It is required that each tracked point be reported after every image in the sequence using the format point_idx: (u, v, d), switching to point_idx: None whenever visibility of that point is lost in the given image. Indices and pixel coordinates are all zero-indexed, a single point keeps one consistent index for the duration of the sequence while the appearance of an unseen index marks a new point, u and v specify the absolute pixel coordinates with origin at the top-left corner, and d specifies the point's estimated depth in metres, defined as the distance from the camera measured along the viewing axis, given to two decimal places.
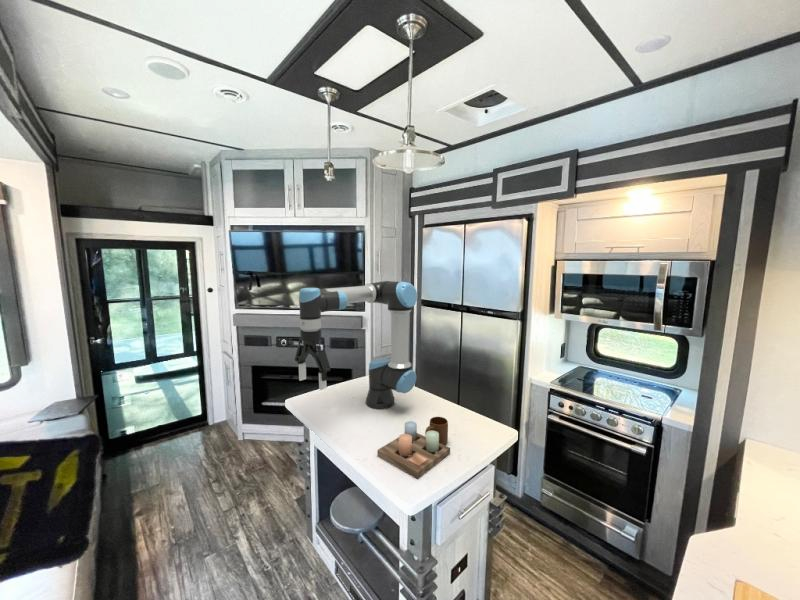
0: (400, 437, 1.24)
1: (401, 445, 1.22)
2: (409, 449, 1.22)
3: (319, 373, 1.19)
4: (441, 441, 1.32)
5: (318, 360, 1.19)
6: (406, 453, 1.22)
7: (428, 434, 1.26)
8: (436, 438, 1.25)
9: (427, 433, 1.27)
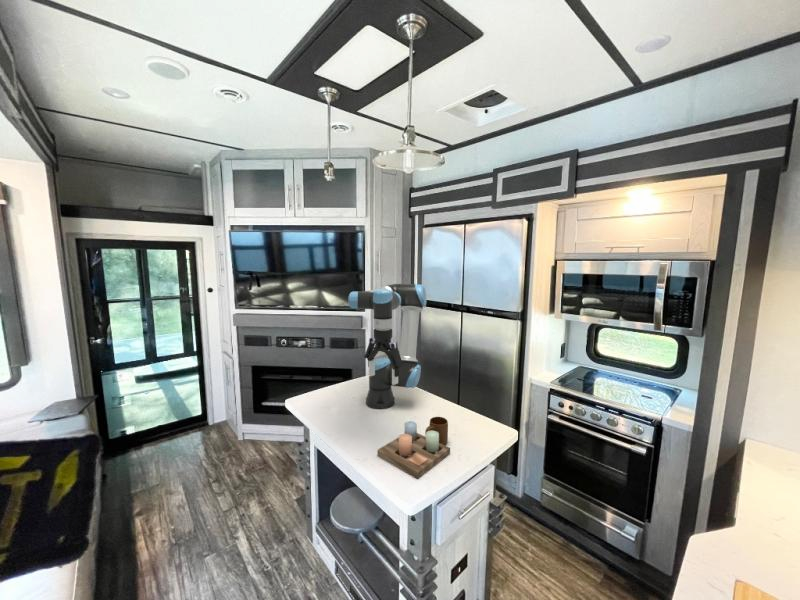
0: (400, 437, 1.24)
1: (401, 445, 1.22)
2: (409, 449, 1.22)
3: (392, 369, 1.27)
4: (441, 442, 1.32)
5: (391, 357, 1.28)
6: (406, 453, 1.22)
7: (428, 434, 1.26)
8: (436, 438, 1.25)
9: (427, 433, 1.27)
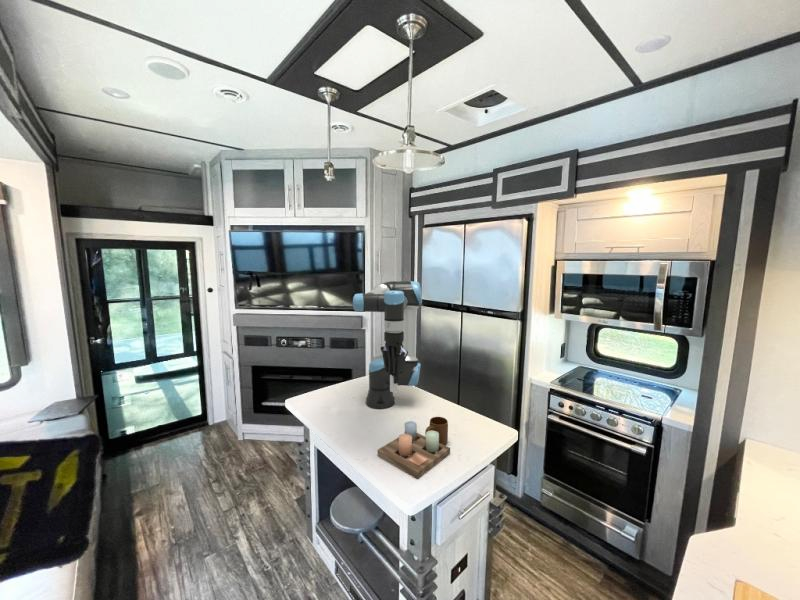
0: (400, 437, 1.24)
1: (401, 445, 1.22)
2: (409, 449, 1.22)
3: (392, 376, 1.26)
4: (441, 442, 1.32)
5: (396, 364, 1.25)
6: (406, 453, 1.22)
7: (428, 434, 1.26)
8: (436, 438, 1.25)
9: (427, 433, 1.27)
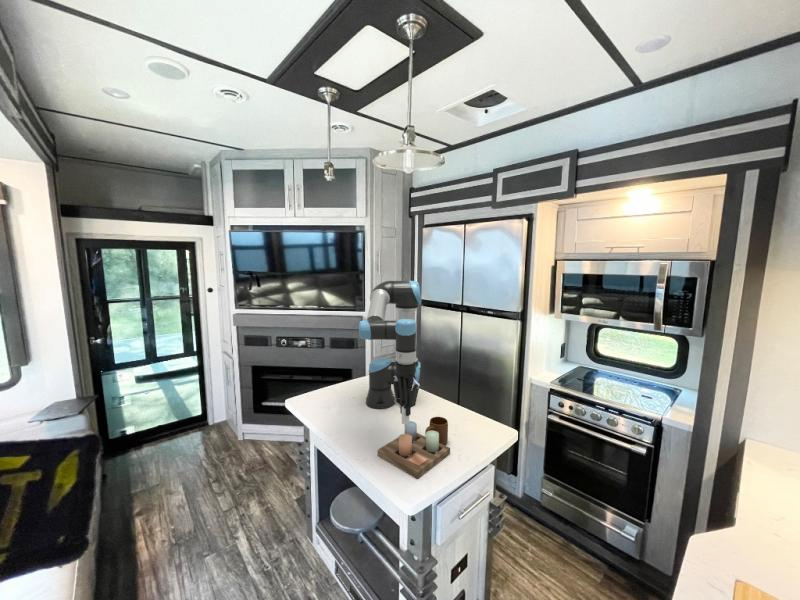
0: (400, 437, 1.24)
1: (401, 445, 1.22)
2: (409, 449, 1.22)
3: (404, 408, 1.21)
4: (441, 442, 1.32)
5: (408, 396, 1.20)
6: (406, 453, 1.22)
7: (428, 434, 1.26)
8: (436, 438, 1.25)
9: (427, 433, 1.27)
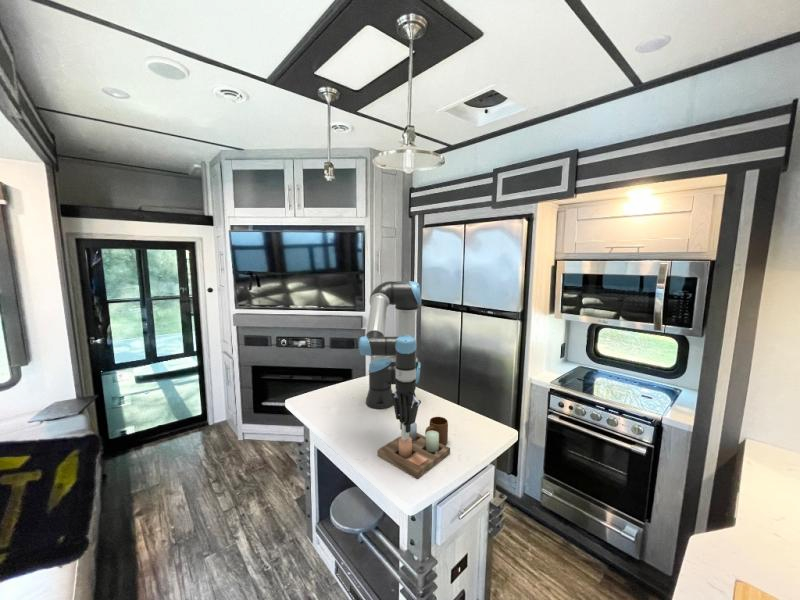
0: (400, 439, 1.24)
1: (401, 447, 1.22)
2: (409, 451, 1.23)
3: (403, 425, 1.22)
4: (441, 441, 1.32)
5: (408, 413, 1.21)
6: (406, 455, 1.22)
7: (428, 434, 1.26)
8: (436, 438, 1.25)
9: (427, 433, 1.27)
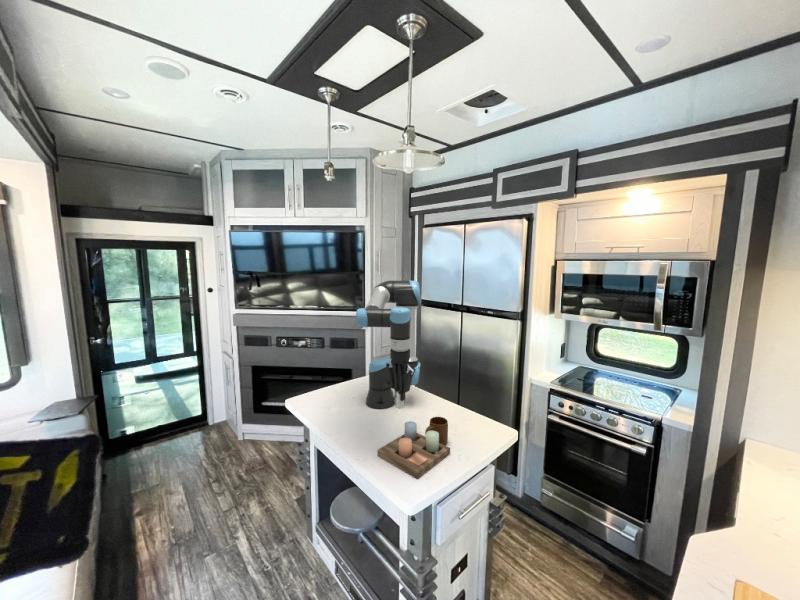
0: (400, 441, 1.24)
1: (401, 449, 1.22)
2: (409, 453, 1.23)
3: (398, 393, 1.25)
4: (441, 442, 1.32)
5: (402, 381, 1.24)
6: (406, 457, 1.22)
7: (428, 434, 1.26)
8: (436, 438, 1.25)
9: (427, 433, 1.27)
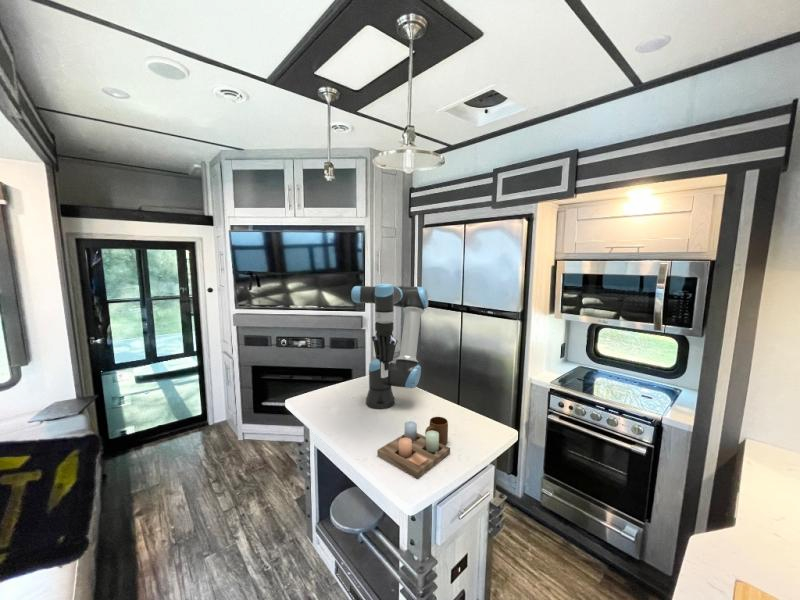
0: (400, 441, 1.24)
1: (401, 449, 1.22)
2: (409, 453, 1.23)
3: (382, 363, 1.35)
4: (441, 442, 1.32)
5: (386, 352, 1.34)
6: (406, 457, 1.22)
7: (428, 434, 1.26)
8: (436, 438, 1.25)
9: (427, 433, 1.27)
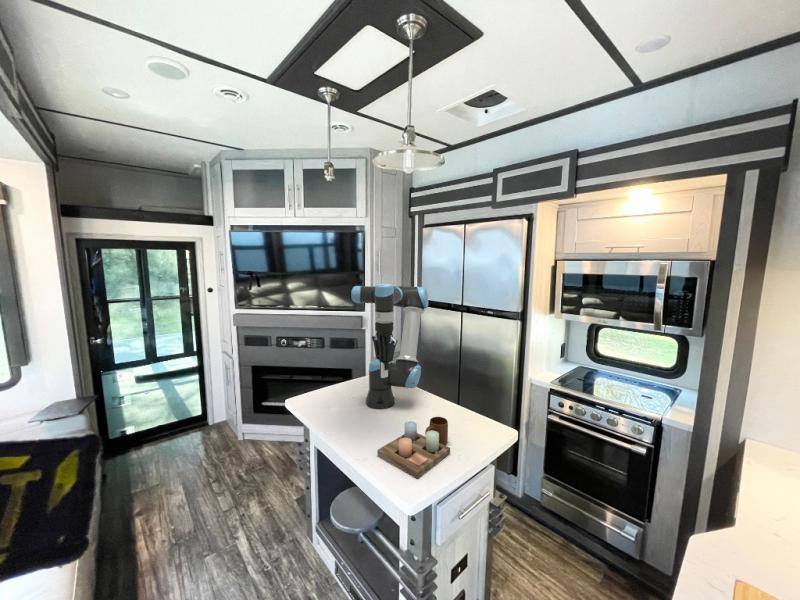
0: (400, 441, 1.24)
1: (401, 449, 1.22)
2: (409, 453, 1.23)
3: (382, 363, 1.35)
4: (441, 441, 1.32)
5: (386, 352, 1.34)
6: (406, 457, 1.22)
7: (428, 434, 1.26)
8: (436, 438, 1.25)
9: (427, 433, 1.27)
